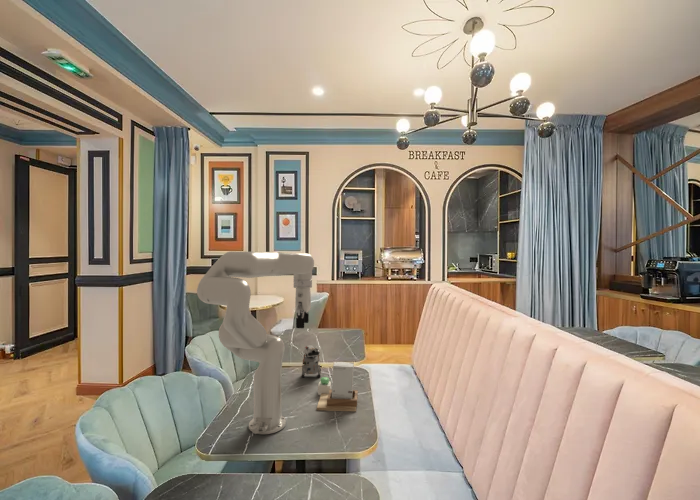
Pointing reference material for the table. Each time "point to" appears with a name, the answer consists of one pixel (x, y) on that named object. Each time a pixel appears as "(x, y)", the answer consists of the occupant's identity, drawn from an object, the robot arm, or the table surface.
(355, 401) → the wooden display tray
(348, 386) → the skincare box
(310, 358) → the figurine
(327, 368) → the table surface
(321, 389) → the console
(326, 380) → the button
